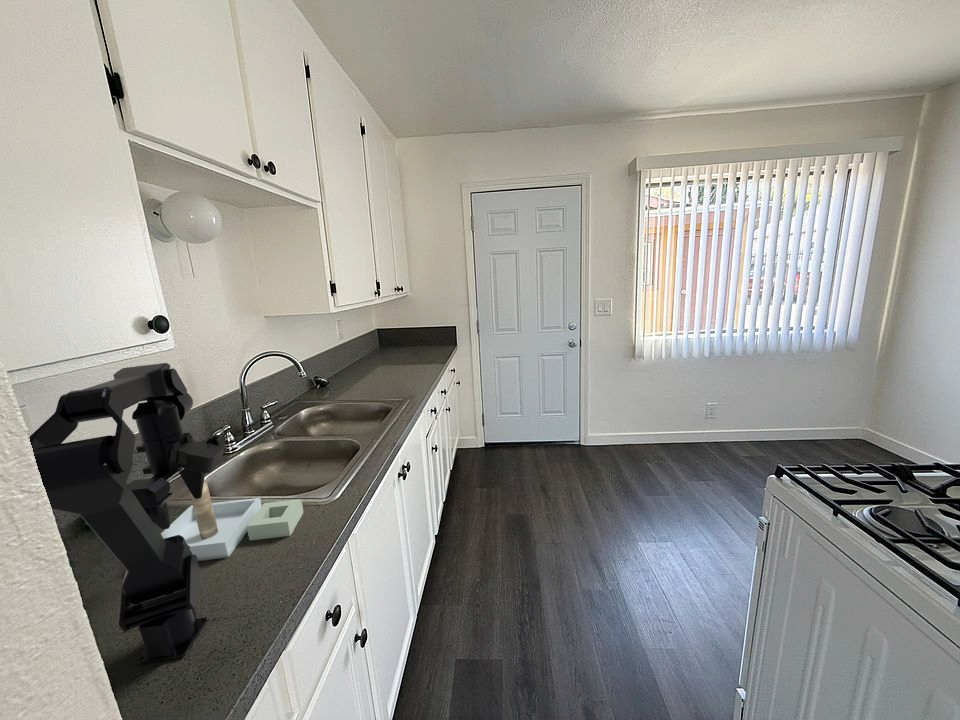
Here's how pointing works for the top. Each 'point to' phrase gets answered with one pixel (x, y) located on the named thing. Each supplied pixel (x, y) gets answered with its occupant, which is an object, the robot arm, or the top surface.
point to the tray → (229, 523)
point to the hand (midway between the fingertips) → (183, 512)
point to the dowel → (205, 514)
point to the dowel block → (275, 519)
